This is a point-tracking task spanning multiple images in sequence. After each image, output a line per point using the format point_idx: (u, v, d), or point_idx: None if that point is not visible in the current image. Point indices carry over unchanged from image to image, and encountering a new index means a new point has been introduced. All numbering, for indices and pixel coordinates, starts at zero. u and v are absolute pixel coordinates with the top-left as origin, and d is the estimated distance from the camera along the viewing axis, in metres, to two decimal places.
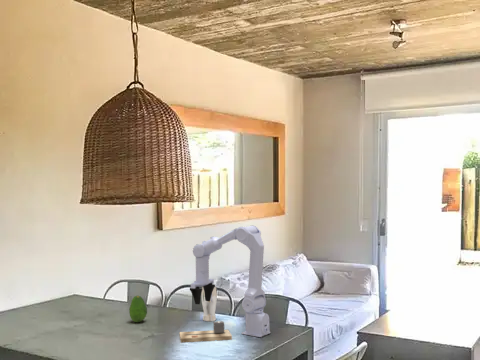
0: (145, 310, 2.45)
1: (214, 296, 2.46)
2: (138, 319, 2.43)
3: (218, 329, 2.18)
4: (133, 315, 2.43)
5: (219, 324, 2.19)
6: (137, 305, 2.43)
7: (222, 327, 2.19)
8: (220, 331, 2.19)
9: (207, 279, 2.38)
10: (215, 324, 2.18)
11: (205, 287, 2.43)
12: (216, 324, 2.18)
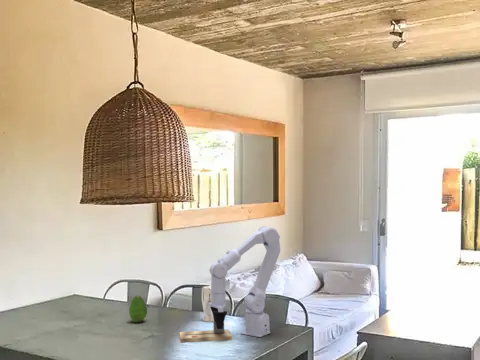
0: (145, 310, 2.45)
1: None
2: (138, 319, 2.43)
3: (218, 329, 2.18)
4: (133, 315, 2.43)
5: None
6: (137, 305, 2.43)
7: None
8: (220, 331, 2.19)
9: None
10: (215, 324, 2.18)
11: (214, 309, 2.23)
12: None
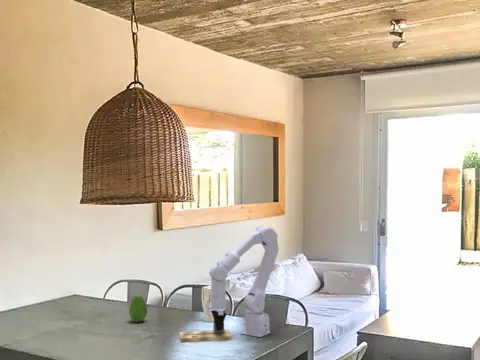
0: (145, 310, 2.45)
1: None
2: (138, 319, 2.43)
3: None
4: (133, 315, 2.43)
5: None
6: (137, 305, 2.43)
7: None
8: (220, 331, 2.19)
9: None
10: (215, 324, 2.18)
11: None
12: None
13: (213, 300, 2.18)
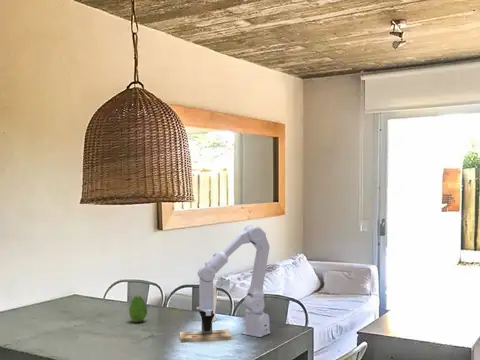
0: (145, 310, 2.45)
1: (214, 296, 2.46)
2: (138, 319, 2.43)
3: None
4: (133, 315, 2.43)
5: None
6: (137, 305, 2.43)
7: (210, 328, 2.18)
8: (208, 332, 2.18)
9: None
10: None
11: None
12: None
13: (201, 300, 2.17)
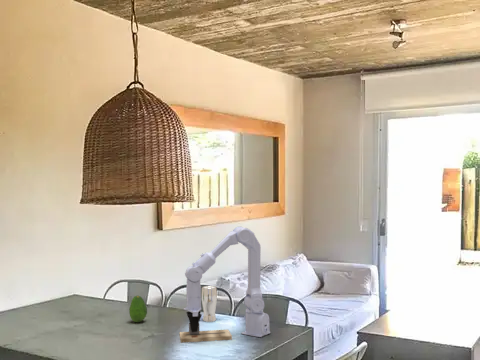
0: (145, 310, 2.45)
1: (214, 296, 2.46)
2: (138, 319, 2.43)
3: None
4: (133, 315, 2.43)
5: None
6: (137, 305, 2.43)
7: None
8: (195, 332, 2.17)
9: (200, 304, 2.19)
10: None
11: None
12: None
13: (188, 301, 2.16)
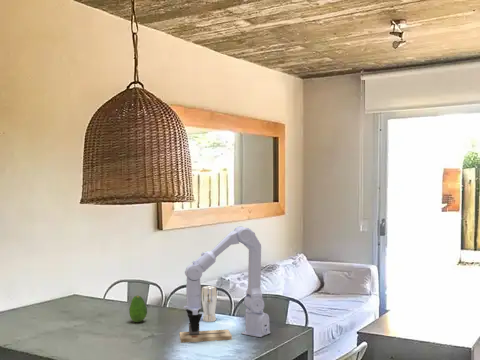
0: (145, 310, 2.45)
1: (214, 296, 2.46)
2: (138, 319, 2.43)
3: None
4: (133, 315, 2.43)
5: None
6: (137, 305, 2.43)
7: None
8: (195, 332, 2.17)
9: (200, 303, 2.19)
10: (190, 325, 2.17)
11: (190, 312, 2.22)
12: None
13: (188, 300, 2.16)
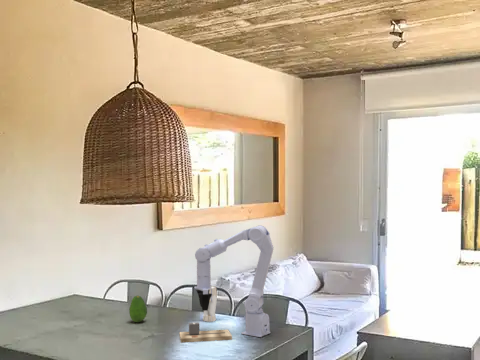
0: (145, 310, 2.45)
1: (214, 296, 2.46)
2: (138, 319, 2.43)
3: (193, 331, 2.17)
4: (133, 315, 2.43)
5: (194, 325, 2.17)
6: (137, 305, 2.43)
7: (197, 328, 2.17)
8: (195, 332, 2.17)
9: None
10: (190, 325, 2.17)
11: (200, 292, 2.33)
12: (191, 325, 2.17)
13: (198, 280, 2.28)
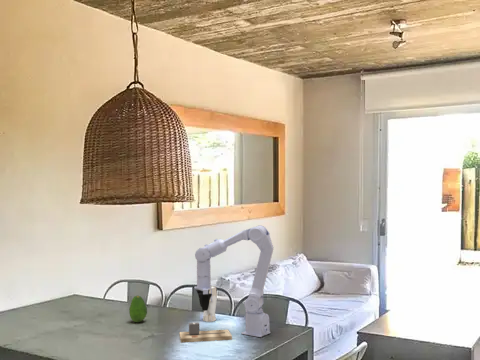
0: (145, 310, 2.45)
1: (214, 296, 2.46)
2: (138, 319, 2.43)
3: (193, 331, 2.17)
4: (133, 315, 2.43)
5: (194, 325, 2.17)
6: (137, 305, 2.43)
7: (197, 328, 2.17)
8: (195, 332, 2.17)
9: None
10: (190, 325, 2.17)
11: (200, 292, 2.33)
12: (191, 325, 2.17)
13: (198, 280, 2.28)
